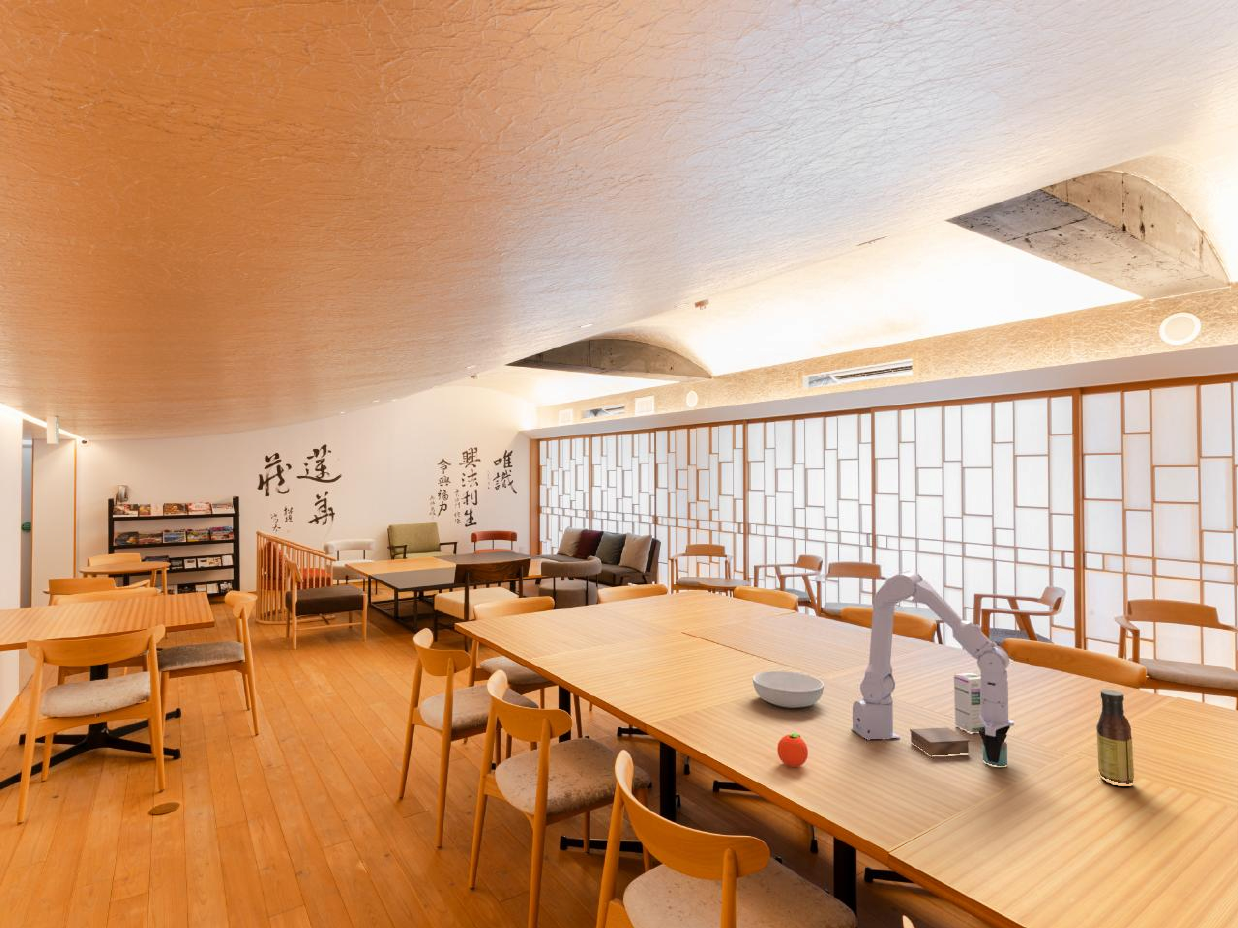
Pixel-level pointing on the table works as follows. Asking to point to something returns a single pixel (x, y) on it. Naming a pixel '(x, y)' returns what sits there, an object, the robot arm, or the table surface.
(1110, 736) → the sauce bottle
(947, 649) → the table surface
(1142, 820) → the table surface
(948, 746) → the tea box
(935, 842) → the table surface
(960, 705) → the syrup box
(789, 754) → the tomato
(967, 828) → the table surface
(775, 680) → the serving bowl
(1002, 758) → the cylinder
